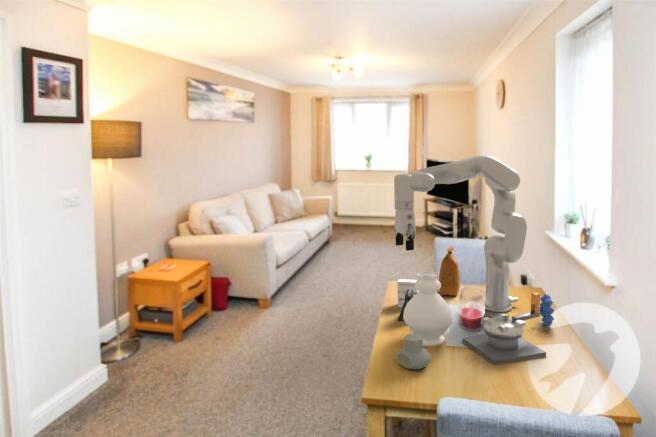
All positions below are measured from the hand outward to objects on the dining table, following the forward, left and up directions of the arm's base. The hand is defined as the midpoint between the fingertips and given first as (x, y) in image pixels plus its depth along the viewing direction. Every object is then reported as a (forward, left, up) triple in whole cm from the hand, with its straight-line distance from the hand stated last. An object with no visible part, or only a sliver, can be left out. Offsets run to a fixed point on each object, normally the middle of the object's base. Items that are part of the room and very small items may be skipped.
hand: (404, 247), depth 199 cm
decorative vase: (0, +20, -31) cm, 37 cm away
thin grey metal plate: (-21, +36, -31) cm, 52 cm away
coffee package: (-34, -26, -31) cm, 53 cm away
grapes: (-50, +21, -31) cm, 62 cm away
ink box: (-8, -16, -31) cm, 36 cm away
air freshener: (+14, +38, -31) cm, 51 cm away
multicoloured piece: (-26, +35, -25) cm, 50 cm away
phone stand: (-2, -1, -31) cm, 31 cm away
